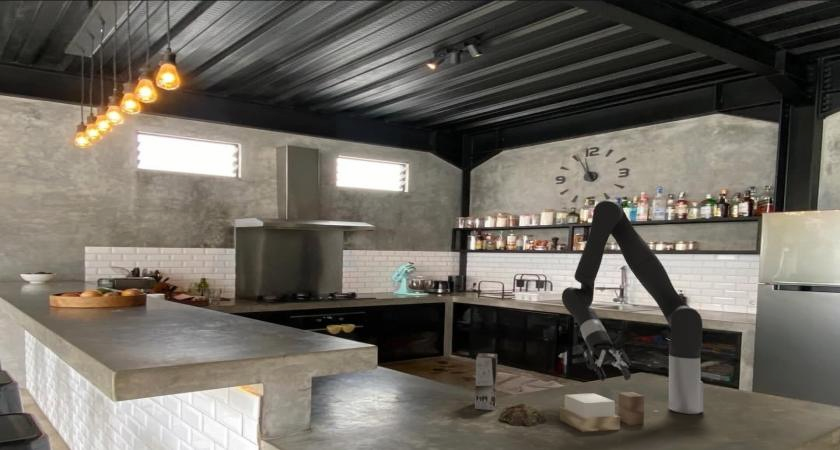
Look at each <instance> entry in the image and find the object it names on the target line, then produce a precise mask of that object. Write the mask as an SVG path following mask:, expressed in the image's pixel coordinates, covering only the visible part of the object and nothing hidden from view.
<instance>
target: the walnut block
mask: <svg viewBox="0 0 840 450" xmlns="http://www.w3.org/2000/svg"><path fill="white" fill-rule="evenodd" d="M618 416H620V422H622V423H625V424H627V425H629V426H630V425H631V426H632V425H645V396H644V395H642V394H640V393H636V392H633V391H629V392H628V391H625V392H618Z"/></svg>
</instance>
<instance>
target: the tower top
mask: <svg viewBox="0 0 840 450" xmlns="http://www.w3.org/2000/svg"><path fill="white" fill-rule="evenodd" d="M564 407H565V409H567V410H569V411H571V412H573V413H575V414H577V415H580V416H582V417H584V418H590V417H604V416H615V415H616V401H615V400H613V399H610V398H607V397H605V396H602V395H600V394H597V393H594V392H591V393H576V394H575V393H573V394H572V393H571V394H569V393H568V394H565V395H564Z"/></svg>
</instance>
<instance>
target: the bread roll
mask: <svg viewBox="0 0 840 450" xmlns="http://www.w3.org/2000/svg"><path fill="white" fill-rule="evenodd" d="M499 420H500V421H501V422H507V423H508V424H509V425H511V426H515V427H524V426H525V427H532V426H538V425H539V424H540V425H541V424H545V423H546V421H547V419H546V416H545V414H544V413H543V411H540V410H538V409H536V408H534V407H533V406H530V405H528V404H524V403H512V404H510V405H507V406H506V407H505V408H503V410H502V411H501V412H500V414H499Z"/></svg>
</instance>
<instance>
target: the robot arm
mask: <svg viewBox="0 0 840 450" xmlns="http://www.w3.org/2000/svg"><path fill="white" fill-rule="evenodd" d="M610 235H611V236H612V238H613V239H614V240H615V242H616V243H617V246H618V247H619V251H620V253H621V254H622V256H623V259H624V261H625V262H626V265H627V266H628V268H629V269H630V271H631V272H632V273H633V275H634V276H635V278H636V279H637V281H638V282H639V283H640V284H641V286H642V287H643V289H644V290H645V291H646V292H647V293H648V294H649V295H650V296H651V297H652V298H653V300H654V301H655V302H656V304H657V306H658V307H659V309H660V312H662V315H663V317H664V318H665V320H666V322H667V324H668V326H669V327H670V342H669V343H670V344H669V347H668V409H669V410H670V411H673V412H676V413H680V414H687V415H698V414H700V413H704V382H703V381H702V380H701V352H702V347H703V319H702V316H701V314H700V313H699V311H697V310H696V309H695V308H692V307H690V306H689V305H688V304H687V302H685V300H684V299H683V298H682V297H681V295H680V294H679V293H678V292H677V290H676V289H675V287H674V285H673V283H672V281H671V279H670V277H669V275H668V273H667V271H666V269H665V267H664V264H662V262H661V261H660V259H659V257H657V255H656V254H655V252H654V251H653V249H652V248H651V247H650V246H649V245H648V243H647V242H646V241H645V240H644V239H643V237H642V236H641V235H640V234H639V232H637V230H636V229H635V227H634V226H633V225H632V222H631V221H630V220H629V218H628V215H627V214H626V212H625V210H624V208H623V206H622V205H621V204H620V203H619V202H618V201H616V200H614V199H604V200H601V201H600V202H598V203H596V205H595V206H594V208H593V213H592V219H591V225H590V229H589V234H588V237H587V240H586V243H585V246H584V248H583V251H582V253H581V255H580V259H579V261H578V265H577V266H576V269H575V272H574V279H575V281H577V282H578V283H580V288H577V287H572V286H569V287H566V288H564V289H563V291H562V293H561V301H562V304H563V306H564V307H565V309H566V310H567V311H568V312H569V314H570V315H571V316H572V317H573V318H574V320H575V321H576V323H577V325H578V327H579V330H580V333H581V334H582V335H581V336H582V338H583V340H584V342H585V344H586V346H587V349H586V350H585V351H584V352H583V355H582V356H583V357H584V360H585V363H586V366H587V368H588V369H589V370H591V371H592V370H594V371H595V372H596V375H597V376H598V379H599V380H601V382H605V381H606V379H607V374H606V372H605V371H604V368H603V366H602V365H612V366H613V367H615V368H618V370H620V372H621V374H622V376H623V378H624V380H625V381H629V380H630V378H631V376H632V374H631V372H630V371H629V369H628V368H629V367H630V366H631V365H632V363H631V360H630V358H629V357H628V355H627V354H626V352H625V350H624V349H623V348H620V349H618V350H615V349H614V346H613V342H612V340H611V338H610V336H609V334H608V332H607V330H606V328H605V327H604V325H603V324H602V321H601V320H600V318H599V316H598V314H597V313H596V310H594V308H592V307H591V305H592V304H593V301H594V293H595V282H596V279H597V275H598V273H599V271H600V267H601V265H602V261H603V256H604V253H605V248H606V246H607V243H608V240H609V238H610ZM594 360H595V361H594ZM615 360H616V361H615Z"/></svg>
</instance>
